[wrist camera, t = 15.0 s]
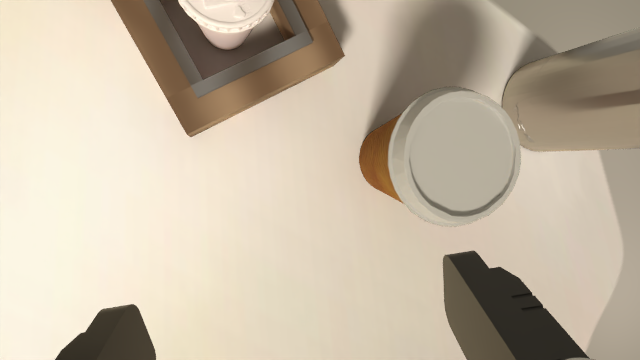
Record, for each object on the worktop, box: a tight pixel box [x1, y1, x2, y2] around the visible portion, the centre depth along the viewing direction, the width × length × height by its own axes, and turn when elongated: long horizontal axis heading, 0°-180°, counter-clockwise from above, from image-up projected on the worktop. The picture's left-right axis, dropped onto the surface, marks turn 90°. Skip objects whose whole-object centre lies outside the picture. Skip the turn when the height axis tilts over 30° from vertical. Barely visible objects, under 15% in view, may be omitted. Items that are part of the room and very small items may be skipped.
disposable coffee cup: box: [359, 87, 521, 227], centre depth 32 cm, size 10×10×12 cm
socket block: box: [111, 0, 345, 137], centre depth 32 cm, size 14×14×4 cm
